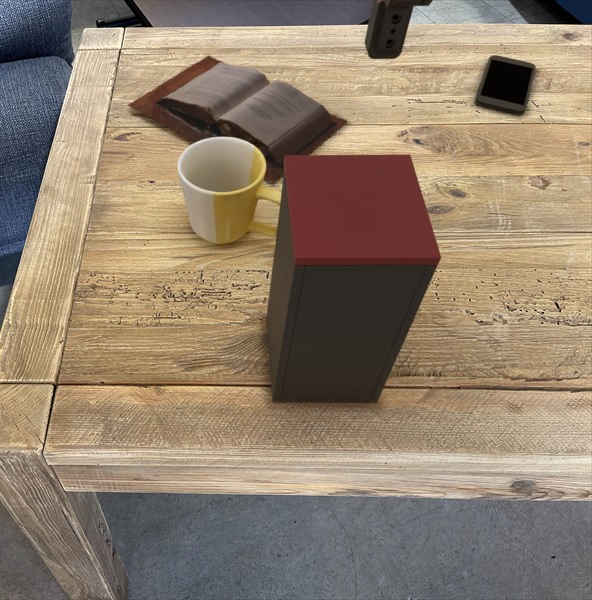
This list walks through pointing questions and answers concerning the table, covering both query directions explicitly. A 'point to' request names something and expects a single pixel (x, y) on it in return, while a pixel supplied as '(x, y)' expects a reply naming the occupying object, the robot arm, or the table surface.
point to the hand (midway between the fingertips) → (381, 52)
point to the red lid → (358, 211)
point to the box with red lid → (336, 323)
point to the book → (240, 110)
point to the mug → (224, 188)
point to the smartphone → (506, 84)
